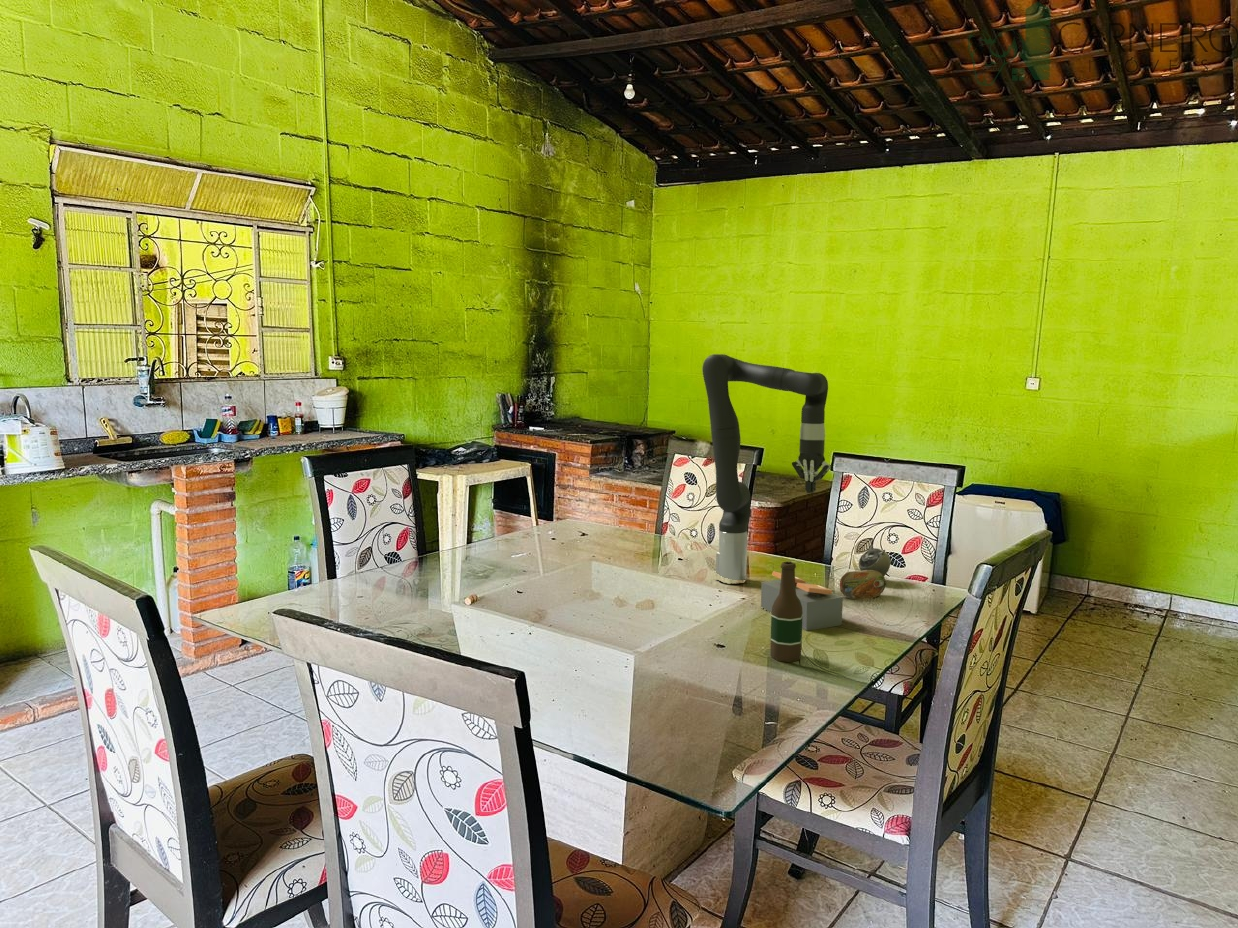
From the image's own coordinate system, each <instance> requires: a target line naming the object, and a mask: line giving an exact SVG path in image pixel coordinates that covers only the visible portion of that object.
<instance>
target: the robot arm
mask: <svg viewBox="0 0 1238 928" xmlns="http://www.w3.org/2000/svg"><path fill="white" fill-rule="evenodd" d="M701 372H702V377H703V382H704V386H705V390H706V395H707V402H708V413H709V422H710V423H709V424H710V432H711V442H712V449H713V457H714V466H715V486H716V487H715V496H716V497H715V498H716V502H717V504H718V507H719V508H720V509H721V510H722V511H723V513H722V517H721V519H720V521H719V522H718V551H716V553H715V574H716V573H717V574H719V575H720V576H722V577H724V578H728V579H732V580H745V579H746V580H747V555H748V554H747V552H748V526H749V522H750V517H751V515H750V514H751V492H750V490H749V487H748V486H747V485H746V484H745V483H743V482H742V481H739V475H738V462H739V456H740V452H741V451H740V450H741V431H740V423H739V419H738V416H737V412H736V411H735V409H734V406H733V403H732V400H731V399H730V393H729V392H730V391H729V382H742V383H749V384H754V385H757V386H759V387H760V386H761V387H763V388H767V389H772V390H777V391H781V392H782V391H784V392H791V393H794V394H798V395H802V396H805V400H804V404H803V405H802V406H801V407H802V408H801V411H800V413H801V416H800V417H801V418H800V427H799V449H798V450H799V456H798V457H797V459H796V460H795V461H793V462H791V465H792V467H793V469H794V470H795V472H796V474H797V476H798V477H799V478H800V479H801V480H802V479H803V480H804V481H805V486H804V489H805V490H804V491H806V493H807V494H814V493H815V491H816V490H817V489H816V488H817V481H819V480H822V479H823V478H824V477H825V475H826V474H827V473H828V472H829V471H830V470H831V468H832V464H830V463H829V464H828V462H826V458H825V456H824V454H825V445H826V444H825V441H826V440H825V438H826V430H825V429H826V427H825V415H826V414H825V409H826V403H827V398H828V392H829V383H828V381H829V380H828V379H827V376H825V375H824V374H823V373H821V372H806V371H805V372H804V371H798V370H794V369H792V368H786V367H780V366H775V365H774V366H773V365H765V364H757V363H753V362H748V361H743V360H740V359H737V358H735V357H732V356H729V355H727V354H722V353H720V354H718V353H715V354H711V355H708V356H707V357H706V358H705V360H704V361H703V364H702V371H701ZM820 468H821V470H820Z"/></svg>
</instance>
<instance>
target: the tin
mask: <svg viewBox="0 0 1238 928" xmlns="http://www.w3.org/2000/svg"><path fill="white" fill-rule="evenodd" d="M886 582H887V581H886V578H885V576H883V574H882V573H881V572H879V571H875V570H864V571H860V570H855V571H848V572H846V573H845V574H843V575H842V576H841V578H840V581H839V590H840V592H841V594H842V596H845V597H846V598H848V599H850V600H859V599H870V598H876V597H879V596H881V594H883V592H884V590H885V587H886V585H887V583H886Z"/></svg>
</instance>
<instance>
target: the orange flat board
mask: <svg viewBox="0 0 1238 928" xmlns="http://www.w3.org/2000/svg"><path fill="white" fill-rule="evenodd" d="M796 587H798V588H800V589H802V590H805V591H807V592H812V593H821V594H830V595H831V594H832V593H833V590H832V589H830V588H828V587H825V586H822V585H819V584H812V583H810V584H804V583H797V586H796Z"/></svg>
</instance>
